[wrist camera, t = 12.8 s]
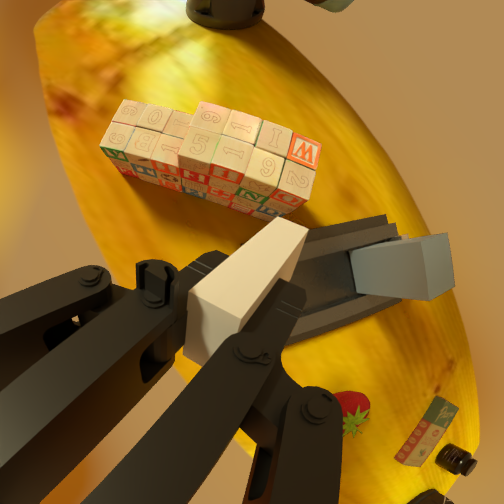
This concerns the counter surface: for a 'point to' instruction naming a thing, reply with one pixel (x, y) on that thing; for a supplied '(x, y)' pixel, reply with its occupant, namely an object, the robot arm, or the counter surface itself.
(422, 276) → the grey rectangular block
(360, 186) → the counter surface
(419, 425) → the carton
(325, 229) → the chute
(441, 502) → the wooden barrel
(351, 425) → the strawberry
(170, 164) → the stack of blocks
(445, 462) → the supplement bottle
